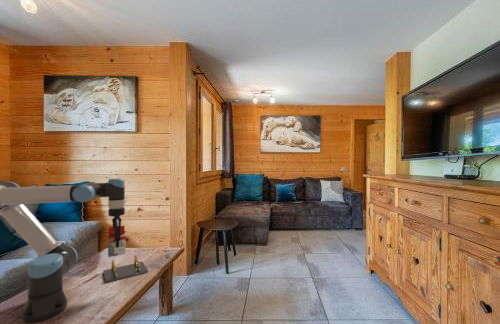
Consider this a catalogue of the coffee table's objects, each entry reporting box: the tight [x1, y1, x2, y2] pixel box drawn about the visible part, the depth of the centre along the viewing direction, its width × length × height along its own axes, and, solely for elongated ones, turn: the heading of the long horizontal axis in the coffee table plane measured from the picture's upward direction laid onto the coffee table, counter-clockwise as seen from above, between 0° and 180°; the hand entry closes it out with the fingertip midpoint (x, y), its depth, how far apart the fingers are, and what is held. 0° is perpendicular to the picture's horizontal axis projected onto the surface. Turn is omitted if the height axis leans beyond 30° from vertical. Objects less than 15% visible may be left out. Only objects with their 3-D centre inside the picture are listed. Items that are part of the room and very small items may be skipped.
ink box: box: [107, 225, 127, 258], centre depth 125 cm, size 4×8×15 cm, turn 122°
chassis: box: [102, 255, 149, 284], centre depth 143 cm, size 22×16×7 cm
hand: (116, 251), depth 125 cm, fingers closed on ink box, 4 cm apart
